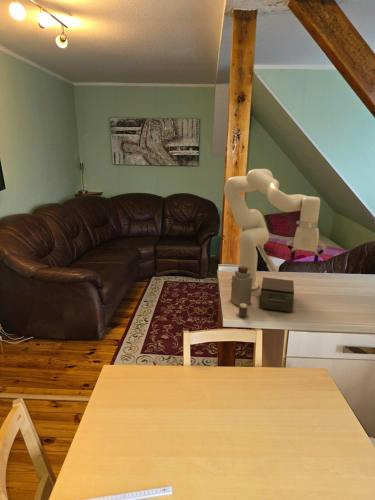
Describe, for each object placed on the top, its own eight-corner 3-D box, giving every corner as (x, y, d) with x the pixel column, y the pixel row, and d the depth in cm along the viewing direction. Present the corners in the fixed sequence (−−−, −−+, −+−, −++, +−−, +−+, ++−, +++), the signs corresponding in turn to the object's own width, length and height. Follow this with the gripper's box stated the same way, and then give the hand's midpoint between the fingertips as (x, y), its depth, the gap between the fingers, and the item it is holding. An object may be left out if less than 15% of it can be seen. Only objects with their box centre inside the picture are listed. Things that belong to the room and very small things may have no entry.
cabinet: (291, 312, 153) (294, 291, 150) (259, 307, 156) (261, 288, 153) (291, 299, 166) (293, 280, 163) (261, 295, 170) (263, 277, 167)
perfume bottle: (238, 306, 157) (241, 270, 152) (230, 301, 163) (232, 266, 158) (250, 304, 160) (253, 268, 155) (241, 298, 166) (244, 264, 161)
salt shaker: (238, 317, 147) (238, 305, 145) (239, 313, 150) (239, 302, 149) (246, 318, 146) (247, 307, 144) (247, 314, 149) (248, 303, 148)
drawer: (291, 316, 146) (293, 299, 144) (260, 312, 150) (261, 295, 147) (290, 299, 163) (292, 284, 161) (262, 296, 167) (263, 280, 164)
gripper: (286, 224, 148) (282, 260, 152) (328, 228, 140) (322, 267, 145) (290, 221, 154) (286, 256, 159) (330, 225, 146) (325, 262, 151)
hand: (303, 261), depth 152 cm, fingers open, 9 cm apart
